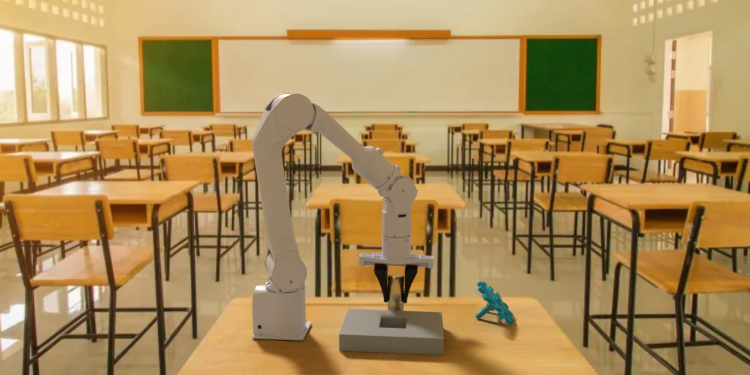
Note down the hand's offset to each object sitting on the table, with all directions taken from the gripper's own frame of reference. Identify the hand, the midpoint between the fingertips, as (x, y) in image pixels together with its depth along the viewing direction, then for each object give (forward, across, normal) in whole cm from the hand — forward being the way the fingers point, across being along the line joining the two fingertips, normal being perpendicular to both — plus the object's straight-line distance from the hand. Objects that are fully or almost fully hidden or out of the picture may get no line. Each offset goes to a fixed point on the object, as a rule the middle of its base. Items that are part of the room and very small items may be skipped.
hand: (395, 301), depth 116 cm
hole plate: (+3, 0, +10) cm, 11 cm away
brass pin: (+2, 0, 0) cm, 2 cm away
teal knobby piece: (+4, -20, -1) cm, 20 cm away
